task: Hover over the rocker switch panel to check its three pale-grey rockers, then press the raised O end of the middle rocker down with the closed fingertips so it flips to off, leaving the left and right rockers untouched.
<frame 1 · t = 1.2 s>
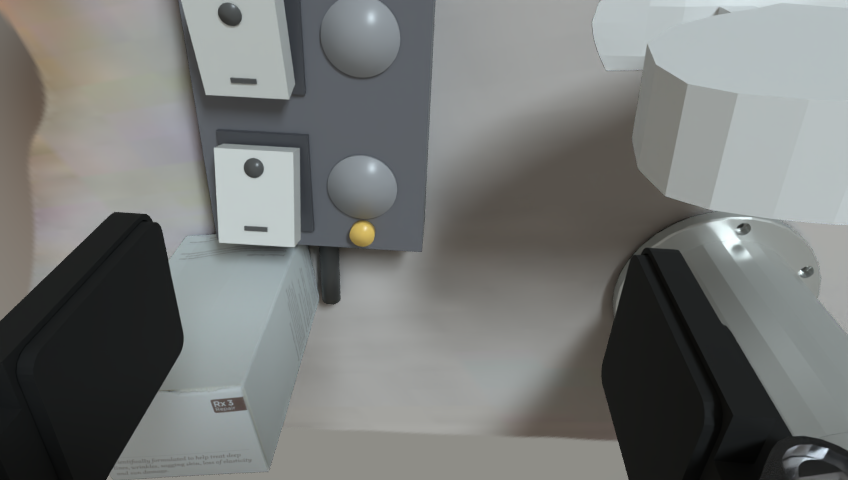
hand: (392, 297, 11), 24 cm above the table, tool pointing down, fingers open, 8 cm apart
rocker 1: (258, 195, 32), point 5 cm above the table, hinge at 14.0°
rocker 2: (241, 41, 27), point 5 cm above the table, hinge at -14.0°
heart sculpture: (725, 19, 31), on the table
skincare box: (258, 262, 41), on the table
rocker switch panel: (320, 18, 32), on the table
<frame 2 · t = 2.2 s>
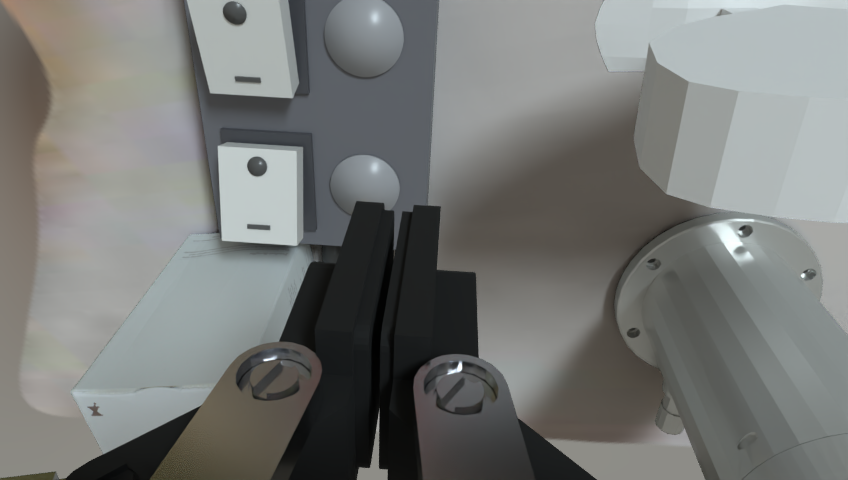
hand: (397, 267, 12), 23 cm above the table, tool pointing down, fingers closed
rocker 1: (262, 194, 32), point 5 cm above the table, hinge at 14.0°
rocker 2: (245, 40, 28), point 5 cm above the table, hinge at -14.0°
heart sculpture: (727, 21, 31), on the table
skincare box: (261, 261, 41), on the table
rocker switch panel: (324, 18, 32), on the table
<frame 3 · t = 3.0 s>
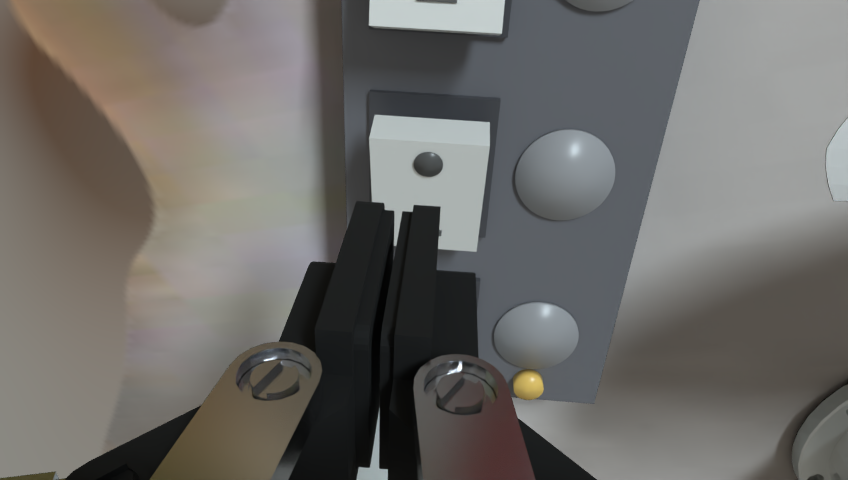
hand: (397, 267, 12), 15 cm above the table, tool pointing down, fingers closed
rocker 2: (428, 187, 22), point 5 cm above the table, hinge at -14.0°
skincare box: (379, 390, 35), on the table
rocker switch panel: (494, 138, 27), on the table
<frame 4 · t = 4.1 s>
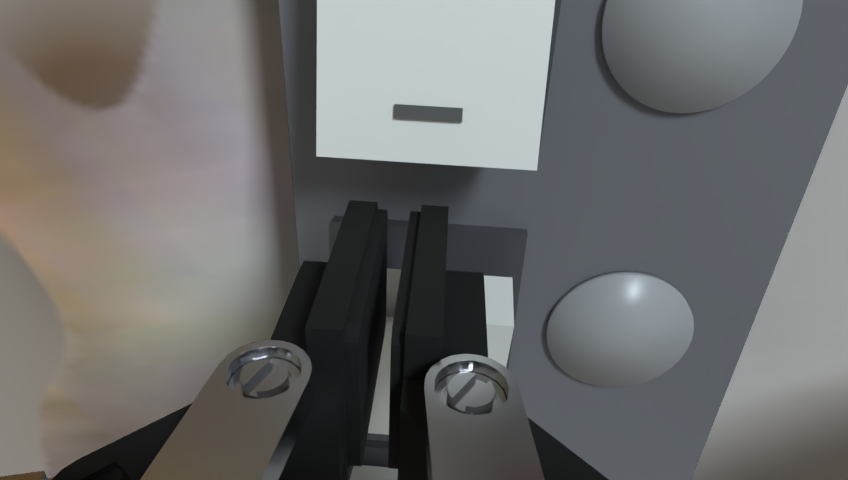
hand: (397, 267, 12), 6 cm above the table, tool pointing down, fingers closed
rocker 3: (435, 19, 11), point 5 cm above the table, hinge at 14.0°
rocker 2: (419, 362, 15), point 5 cm above the table, hinge at -13.1°, touching gripper
rocker switch panel: (513, 254, 19), on the table
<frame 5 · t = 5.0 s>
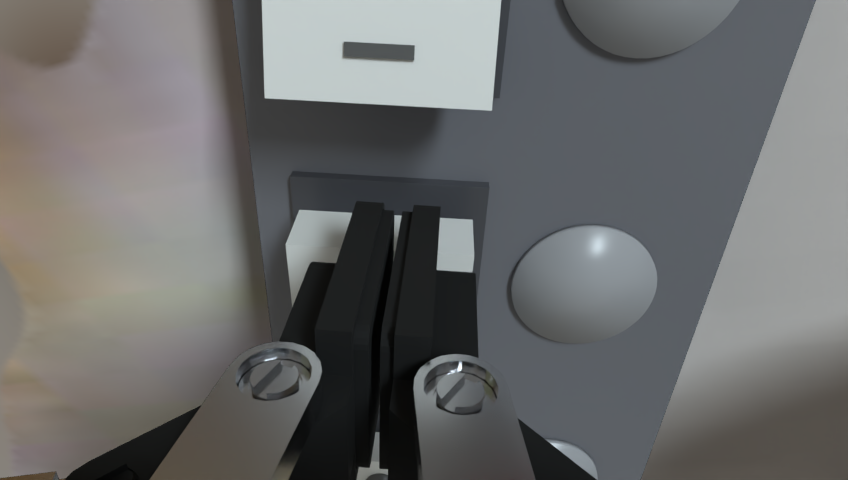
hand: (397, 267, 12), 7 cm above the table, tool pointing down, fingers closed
rocker 2: (382, 317, 15), point 5 cm above the table, hinge at -2.7°
rocker switch panel: (480, 215, 19), on the table
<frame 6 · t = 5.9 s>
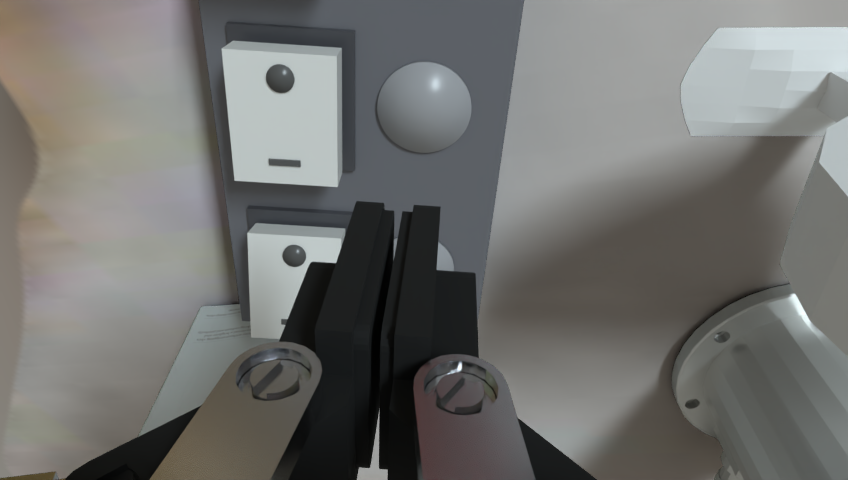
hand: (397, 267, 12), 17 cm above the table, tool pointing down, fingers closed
rocker 1: (297, 283, 27), point 5 cm above the table, hinge at 14.0°
rocker 2: (286, 116, 23), point 5 cm above the table, hinge at 4.0°
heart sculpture: (830, 82, 27), on the table
skincare box: (282, 331, 36), on the table
rocker switch panel: (368, 76, 27), on the table
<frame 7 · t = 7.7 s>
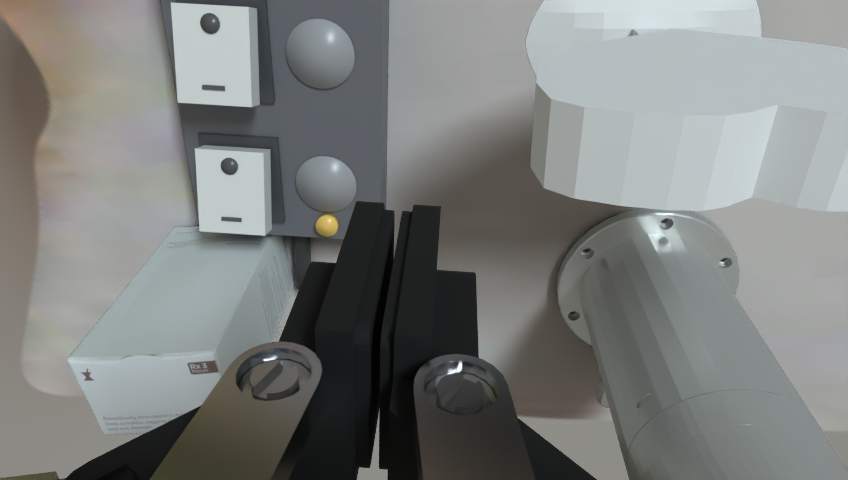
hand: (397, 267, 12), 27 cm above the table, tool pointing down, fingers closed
rocker 1: (234, 190, 36), point 5 cm above the table, hinge at 14.0°
rocker 2: (216, 55, 32), point 5 cm above the table, hinge at 13.0°
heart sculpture: (640, 39, 36), on the table
skincare box: (239, 251, 45), on the table
rocker switch panel: (289, 36, 37), on the table
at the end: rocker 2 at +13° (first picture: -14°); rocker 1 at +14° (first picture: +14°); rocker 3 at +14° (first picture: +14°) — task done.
